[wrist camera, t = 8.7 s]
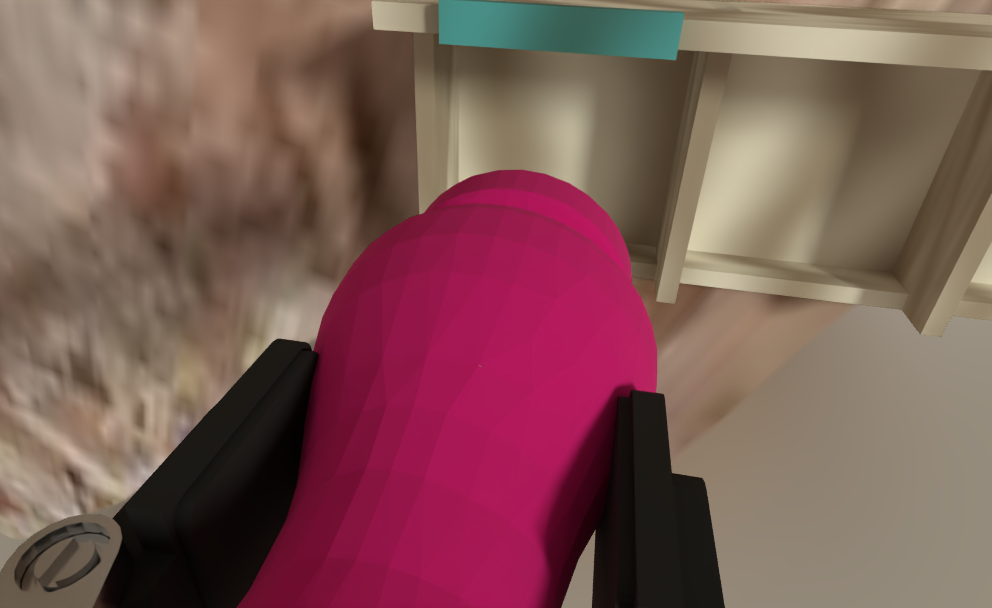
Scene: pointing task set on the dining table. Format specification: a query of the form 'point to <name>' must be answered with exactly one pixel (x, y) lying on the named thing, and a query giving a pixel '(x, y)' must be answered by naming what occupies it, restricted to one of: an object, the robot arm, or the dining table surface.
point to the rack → (731, 137)
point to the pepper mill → (464, 406)
